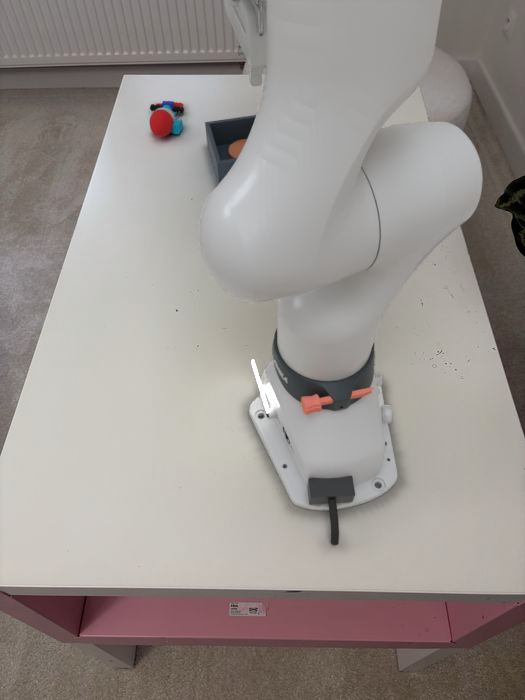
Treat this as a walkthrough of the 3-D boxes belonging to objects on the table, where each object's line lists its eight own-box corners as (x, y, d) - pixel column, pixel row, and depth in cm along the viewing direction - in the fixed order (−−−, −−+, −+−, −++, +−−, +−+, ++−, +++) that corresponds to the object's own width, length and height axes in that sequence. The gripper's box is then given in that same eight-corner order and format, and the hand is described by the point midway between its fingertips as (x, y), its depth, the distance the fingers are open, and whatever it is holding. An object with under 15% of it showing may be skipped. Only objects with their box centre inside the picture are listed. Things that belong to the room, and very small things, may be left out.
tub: (288, 178, 100) (289, 152, 96) (219, 189, 99) (217, 163, 94) (272, 137, 108) (272, 112, 103) (207, 147, 106) (204, 122, 102)
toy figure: (153, 112, 116) (141, 141, 106) (151, 89, 113) (139, 116, 102) (187, 115, 117) (179, 144, 106) (186, 92, 113) (178, 119, 103)
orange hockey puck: (267, 167, 101) (266, 157, 99) (232, 173, 100) (232, 162, 98) (259, 147, 105) (259, 136, 103) (226, 152, 104) (225, 141, 102)
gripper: (284, -1, 70) (283, 99, 81) (252, -54, 81) (254, 40, 93) (238, 4, 69) (243, 104, 80) (212, -50, 81) (220, 45, 92)
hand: (249, 70), depth 86 cm, fingers open, 8 cm apart
